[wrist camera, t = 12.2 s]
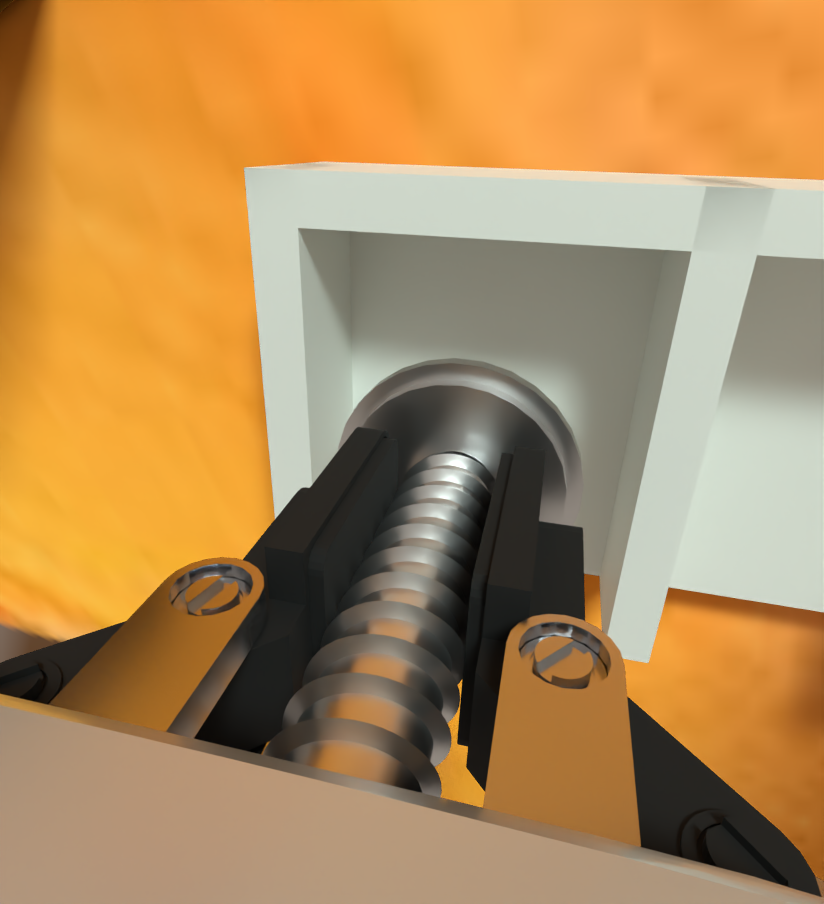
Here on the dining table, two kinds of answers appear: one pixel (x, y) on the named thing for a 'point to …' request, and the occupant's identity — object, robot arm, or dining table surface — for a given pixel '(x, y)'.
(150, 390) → the dining table surface
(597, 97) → the dining table surface
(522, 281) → the rack
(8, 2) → the supplement bottle
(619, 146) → the dining table surface
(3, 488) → the dining table surface
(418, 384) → the screw
